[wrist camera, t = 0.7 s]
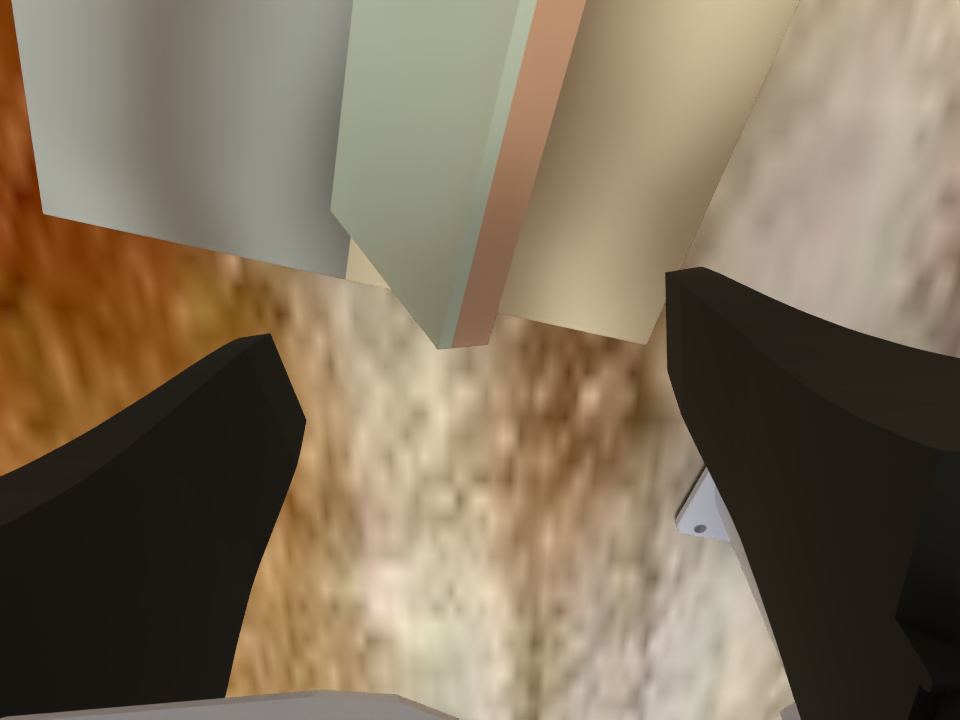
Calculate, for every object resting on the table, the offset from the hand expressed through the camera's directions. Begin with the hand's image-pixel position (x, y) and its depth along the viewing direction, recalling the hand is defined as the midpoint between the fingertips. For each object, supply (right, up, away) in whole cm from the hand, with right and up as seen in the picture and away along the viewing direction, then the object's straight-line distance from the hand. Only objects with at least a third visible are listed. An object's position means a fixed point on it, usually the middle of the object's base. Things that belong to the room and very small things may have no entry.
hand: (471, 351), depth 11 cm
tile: (0, +6, +2) cm, 6 cm away
